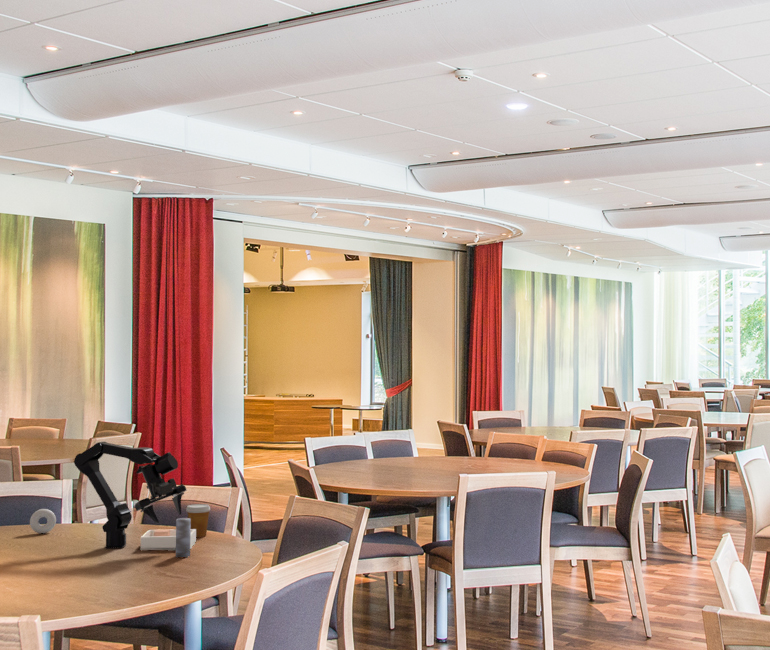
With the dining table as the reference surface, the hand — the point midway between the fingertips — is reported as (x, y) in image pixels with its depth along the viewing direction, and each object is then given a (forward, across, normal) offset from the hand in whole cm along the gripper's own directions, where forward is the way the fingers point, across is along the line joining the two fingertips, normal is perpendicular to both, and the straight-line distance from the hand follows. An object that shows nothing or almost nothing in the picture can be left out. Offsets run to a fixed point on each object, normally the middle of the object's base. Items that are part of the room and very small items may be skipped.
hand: (169, 519), depth 311 cm
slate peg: (+14, -4, -8) cm, 17 cm away
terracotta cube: (+7, -2, +11) cm, 13 cm away
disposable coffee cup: (+10, +17, +21) cm, 29 cm away
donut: (-18, -26, +62) cm, 69 cm away
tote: (+9, 0, +10) cm, 13 cm away
